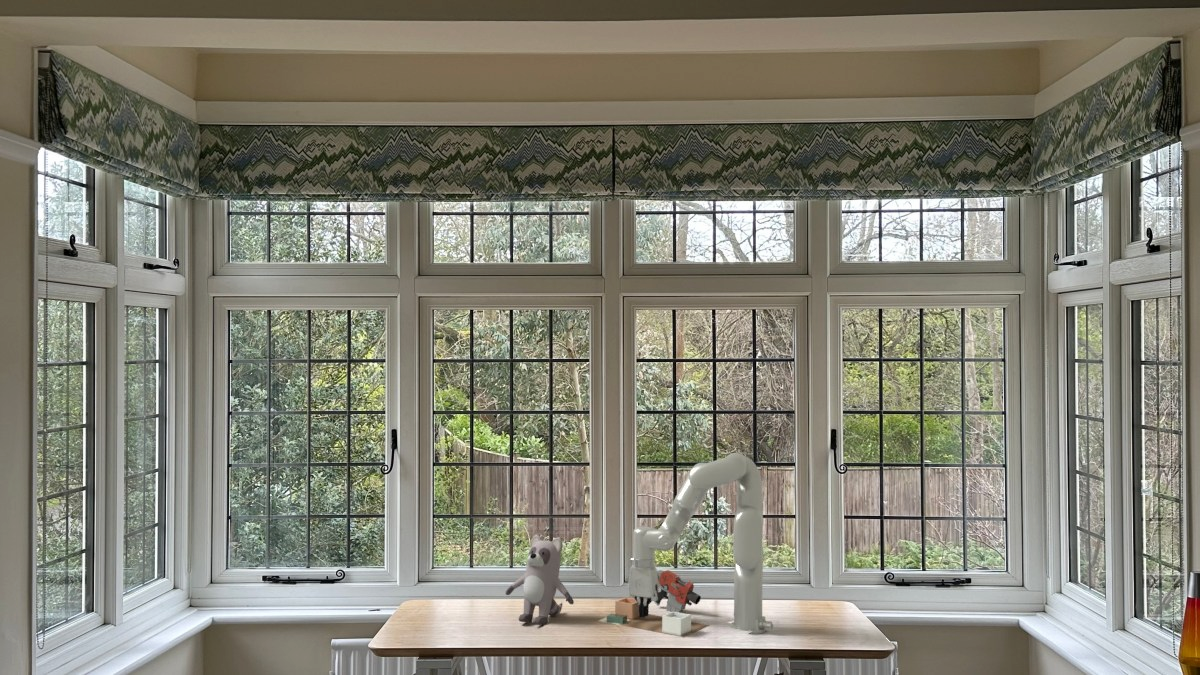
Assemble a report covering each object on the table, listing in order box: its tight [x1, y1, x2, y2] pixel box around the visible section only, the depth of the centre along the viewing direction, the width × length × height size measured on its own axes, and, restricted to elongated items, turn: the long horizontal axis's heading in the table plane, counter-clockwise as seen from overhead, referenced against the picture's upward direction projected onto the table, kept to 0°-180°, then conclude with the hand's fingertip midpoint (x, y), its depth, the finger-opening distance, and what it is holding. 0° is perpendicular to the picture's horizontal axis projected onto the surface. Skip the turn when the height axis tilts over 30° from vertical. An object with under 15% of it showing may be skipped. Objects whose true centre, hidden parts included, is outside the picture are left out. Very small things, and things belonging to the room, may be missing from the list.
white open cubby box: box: [661, 611, 692, 637], centre depth 315 cm, size 7×7×6 cm
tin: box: [606, 613, 627, 624], centre depth 327 cm, size 6×4×2 cm, turn 66°
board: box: [597, 613, 710, 638], centre depth 326 cm, size 34×18×1 cm, turn 56°
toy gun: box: [652, 569, 702, 613], centre depth 343 cm, size 4×20×15 cm, turn 53°
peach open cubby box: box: [614, 597, 640, 620], centre depth 334 cm, size 7×7×6 cm
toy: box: [505, 534, 575, 626], centre depth 330 cm, size 21×21×29 cm
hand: (643, 616), depth 330 cm, fingers closed
